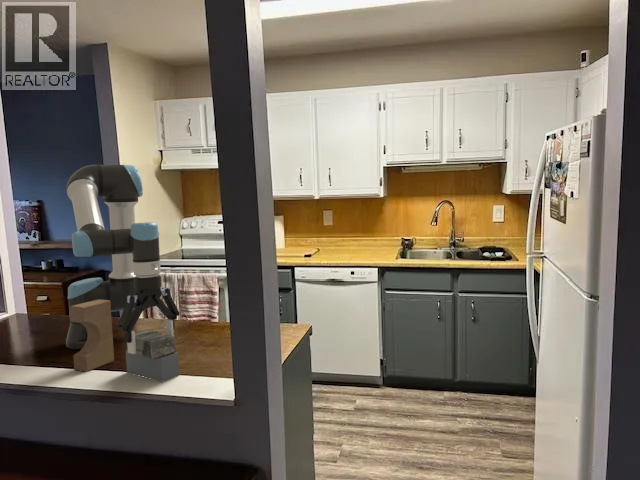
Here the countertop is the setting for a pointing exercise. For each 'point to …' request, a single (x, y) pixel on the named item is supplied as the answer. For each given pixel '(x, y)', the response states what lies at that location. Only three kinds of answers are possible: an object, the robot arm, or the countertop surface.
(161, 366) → the block
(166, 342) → the stone block
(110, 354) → the decorative block
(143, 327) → the countertop surface
